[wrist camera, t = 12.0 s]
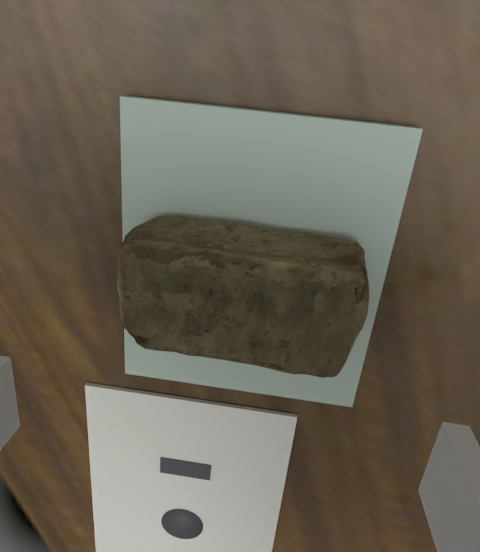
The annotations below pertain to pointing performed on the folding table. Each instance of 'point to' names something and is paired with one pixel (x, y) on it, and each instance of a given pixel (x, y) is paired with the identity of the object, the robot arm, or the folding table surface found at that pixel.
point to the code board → (184, 472)
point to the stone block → (243, 293)
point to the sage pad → (265, 207)
